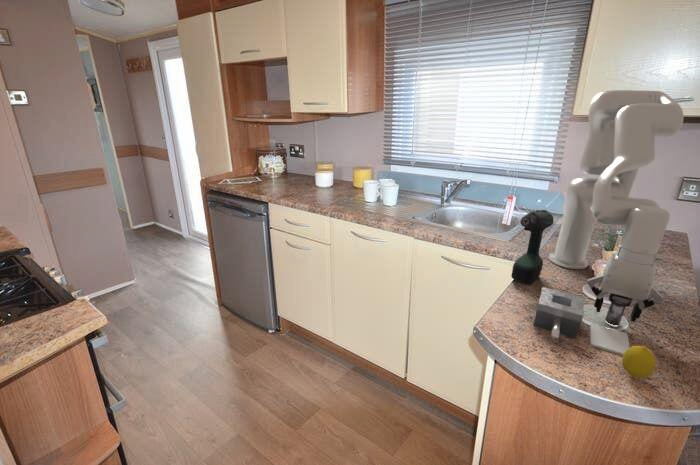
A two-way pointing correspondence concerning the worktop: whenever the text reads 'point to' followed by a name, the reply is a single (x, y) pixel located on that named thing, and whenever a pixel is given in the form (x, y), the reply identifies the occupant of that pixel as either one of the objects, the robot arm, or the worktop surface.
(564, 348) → the worktop surface
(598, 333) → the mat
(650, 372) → the lemon
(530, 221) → the power drill
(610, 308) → the dark gray knob
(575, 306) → the block
